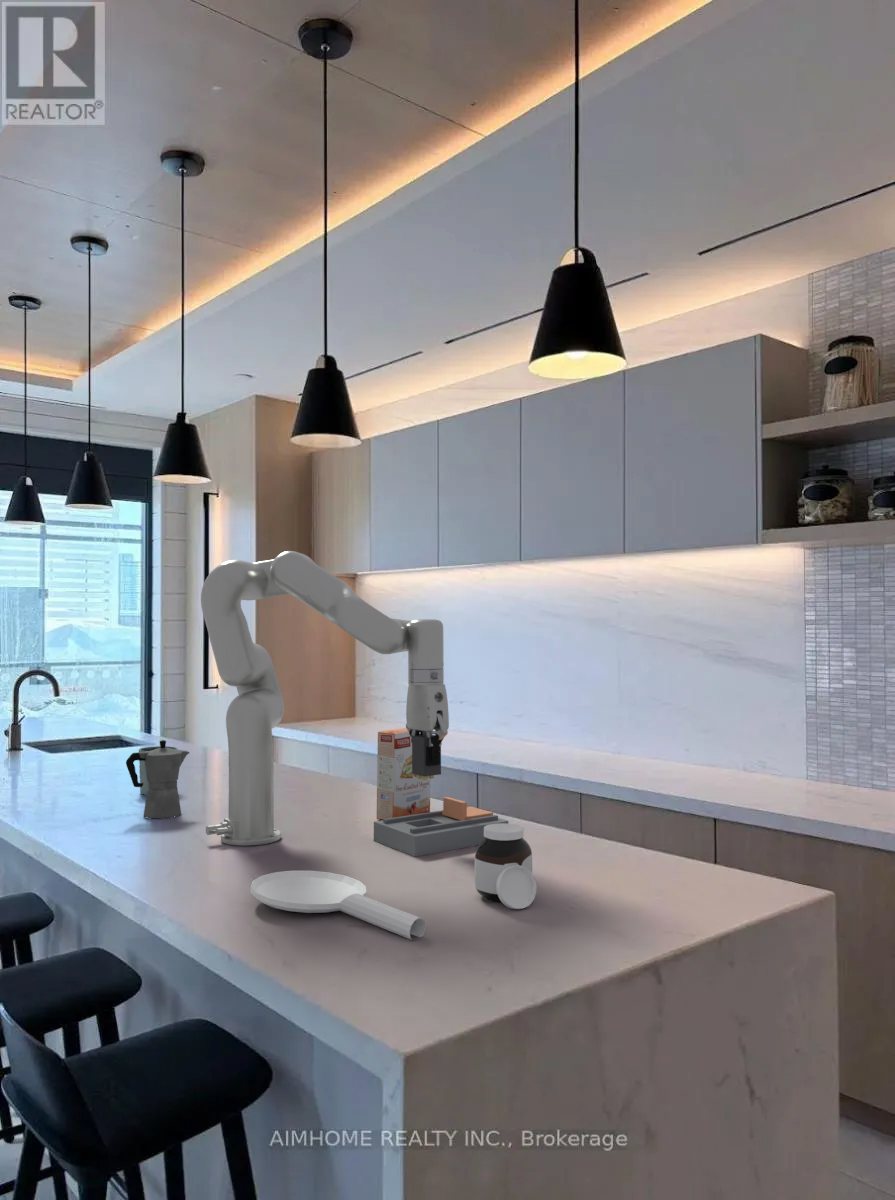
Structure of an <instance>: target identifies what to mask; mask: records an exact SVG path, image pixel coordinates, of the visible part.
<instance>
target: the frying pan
mask: <svg viewBox="0 0 895 1200" xmlns="http://www.w3.org/2000/svg"><path fill="white" fill-rule="evenodd" d="M250 893H251V895H253V897H254V898H256V899H257V900H258V901H260V903H261V904H265V905H266V906H268V907H271V908H274V909H278V910H282V911H283V910H284V911H288V912H297V913H306V914H312V913H313V914H314V913H315V914H317V913H318V914H319V913H331V912H339V911H340V912H343V913H345V914H348V915H350V916H353V917H355V918H357V919H359V920H362V921H364V922H367V923H370V924H372V925H374V926H377V927H379V928H382V929H383V930H386V931H388V932H391V933H393V934H396V935H398V936H401V937H403V938H406V939H408V940H410V941H413V939H412V937H411V935H412V936H416V937H418V938H422V937H423V936H424V935H425V932H426V921H425V920H424V919H423V918H422V917H419V916H418V915H414V914H411V913H409V912H406V911H404V910H401V909H398V908H396V907H394V906H391V905H388V904H386V903H383V902H382V901H381V902H380V901H378V900H375V899H373V898H371V897H368V896H367V887H366V884H363V883H362V882H361V881H360V880H359V879H357V878H356V879H355V878H352V877H350V876H347V875H346V874H345V875H344V874H338V873H334V872H328V871H319V870H286V871H285V870H283V871H275V872H271V873H267V874H262V875H260V876H258V877H257V878H255V879H253V880H252V882H251V885H250Z"/></svg>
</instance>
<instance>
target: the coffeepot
mask: <svg viewBox="0 0 895 1200" xmlns="http://www.w3.org/2000/svg"><path fill="white" fill-rule="evenodd" d="M166 745H167V740H159V746H160V747H161V748H158V749H155V750H151V751H148V752H141V753H139V751H138V752H132V753H131V754H130V755H129V756H128V757H127V759H126V760H125V761H126V762H125V764H126V768H127V770H128V775H129V776H130V779H131V783H132V785H133V787H135V788H140V787H142V786H143V783H140V782H139V781H138V780H139V779H138V778H139V776H138V774H137V772H136V767H135V766H136V765H135V764H134V762H136V761H138V762H139V761H145V768H146V775H147V781H148V791H147V795H146V798H145V805H144V811H143V818H145V817H148V818H147V819H149V818H166V819H171V818H170V817H173V818H175V817H174V816H177V817H179V816H181V814H182V810H181V809H182V808H181V803H180V796H179V790H178V780H179V774H180V773H179V772H180V767H182V764H183V762H184V761H185V759H186V757H187V756H188V755H189V754H190V752H189V751H188V750H182V749H178V750H176V749H170V748H165V746H166ZM178 815H179V816H178Z"/></svg>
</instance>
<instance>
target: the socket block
mask: <svg viewBox="0 0 895 1200" xmlns="http://www.w3.org/2000/svg"><path fill="white" fill-rule="evenodd" d="M442 811H443V809H442V810H436V811H435V810H434V811H430V812H428V813H422V814H415V815H408V816H402V817H395V818H388V819H383V820H375V821H373V842H374V841H375V842H376V843H380V844H381V845H384V846H387V847H390V848H391V849H395V850H396V851H397V850H398V851H400V852H402V853H405V854H406V855H410V856H412V857H414V858H415V857H421V856H425V855H430V854H437V853H441V852H448V851H453V850H458V849H464V848H465V849H466V848H470V847H475V846H479V844H480V843H481V841H482V840H483V839H484V838H485V837H484V827H485V826H486V825H490V824H498V823H506V824H509V820H507V819H503V818H499V815H496V814H493V815H492V816H485V817H479V818H473V819H467V820H458V819H455V818H452V817H448V816H445V815H442Z"/></svg>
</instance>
